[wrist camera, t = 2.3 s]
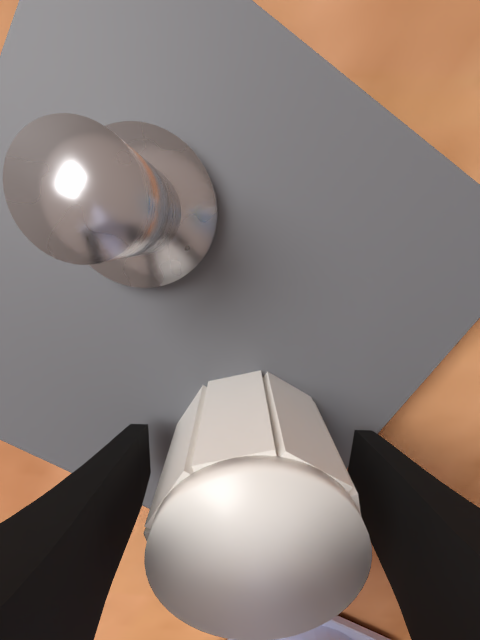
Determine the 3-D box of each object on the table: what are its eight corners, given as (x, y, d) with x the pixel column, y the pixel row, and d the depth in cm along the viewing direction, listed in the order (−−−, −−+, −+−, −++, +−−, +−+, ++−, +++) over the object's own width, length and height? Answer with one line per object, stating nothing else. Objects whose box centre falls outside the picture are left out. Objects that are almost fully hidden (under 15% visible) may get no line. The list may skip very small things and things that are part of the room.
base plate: (262, 539, 14) (265, 561, 13) (-85, 373, 11) (-115, 386, 10) (518, 239, 10) (547, 239, 9) (90, -100, 8) (70, -148, 7)
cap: (268, 511, 12) (286, 665, 8) (155, 455, 11) (105, 592, 7) (347, 417, 11) (419, 537, 7) (227, 347, 10) (220, 431, 6)
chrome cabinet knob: (173, 309, 10) (132, 358, 6) (47, 235, 9) (-93, 235, 5) (245, 187, 9) (252, 149, 5) (109, 93, 8) (-6, -35, 4)
